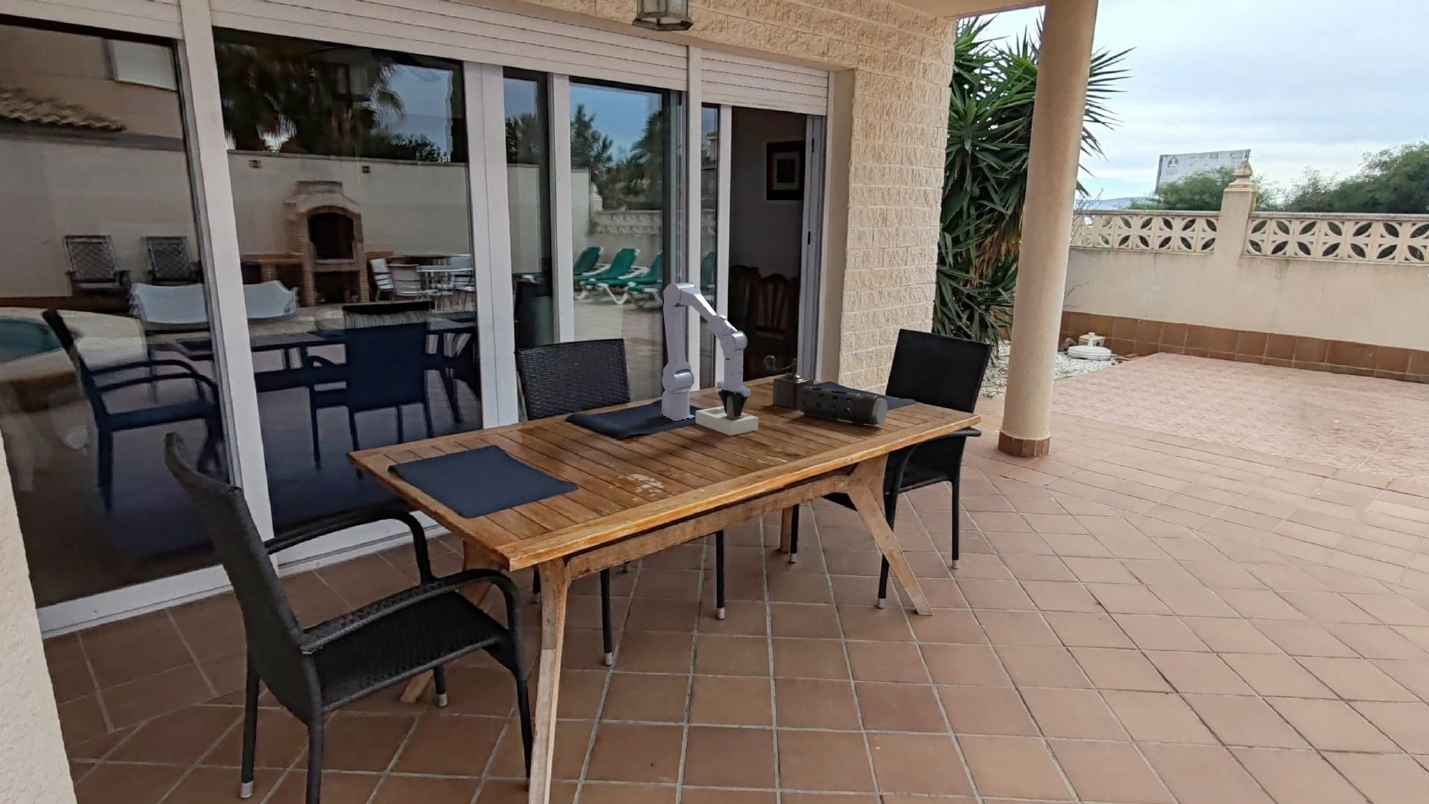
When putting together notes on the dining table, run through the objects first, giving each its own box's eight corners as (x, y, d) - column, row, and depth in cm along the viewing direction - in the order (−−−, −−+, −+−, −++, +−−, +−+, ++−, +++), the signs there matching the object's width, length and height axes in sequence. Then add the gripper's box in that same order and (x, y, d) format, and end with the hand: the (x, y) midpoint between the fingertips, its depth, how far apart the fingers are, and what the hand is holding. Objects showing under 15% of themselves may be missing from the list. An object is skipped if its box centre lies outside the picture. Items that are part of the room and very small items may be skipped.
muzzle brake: (810, 412, 260) (811, 382, 257) (887, 425, 244) (889, 394, 241) (796, 418, 252) (797, 387, 250) (875, 432, 236) (876, 399, 234)
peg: (724, 421, 238) (724, 396, 236) (736, 420, 239) (736, 395, 237) (729, 424, 234) (730, 399, 232) (741, 423, 236) (742, 398, 234)
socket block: (695, 422, 245) (695, 409, 244) (722, 417, 251) (722, 405, 250) (730, 435, 231) (730, 422, 230) (758, 429, 238) (758, 416, 236)
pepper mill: (790, 399, 277) (792, 350, 273) (813, 405, 269) (815, 354, 265) (760, 406, 267) (761, 355, 263) (783, 412, 259) (784, 360, 255)
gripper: (708, 369, 236) (708, 411, 239) (738, 377, 225) (737, 421, 228) (726, 366, 240) (726, 408, 243) (756, 374, 229) (755, 418, 232)
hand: (732, 414), depth 236 cm, fingers closed on peg, 4 cm apart
